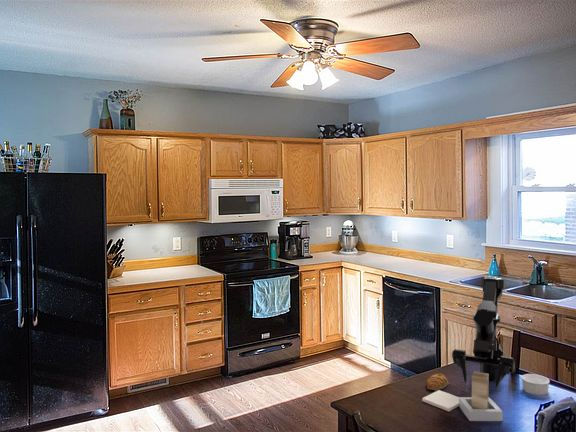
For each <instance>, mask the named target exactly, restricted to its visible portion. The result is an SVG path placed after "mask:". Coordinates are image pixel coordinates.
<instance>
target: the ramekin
mask: <svg viewBox="0 0 576 432" xmlns="http://www.w3.org/2000/svg"><path fill="white" fill-rule="evenodd" d="M520 378H521V383H522V384H521V385H522V389H523V391H525V392H527V393H529V394H530V395H532V394H533V395H537V396H539V395H540V396H544V395H546V394H548V393H549V386H550V379H549V378H548V377H546V376H543V375H540V374H534V373H526V374H523V375H521V376H520Z"/></svg>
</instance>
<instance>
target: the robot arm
mask: <svg viewBox="0 0 576 432" xmlns="http://www.w3.org/2000/svg"><path fill="white" fill-rule="evenodd" d="M505 287H506V283H505V280H503V278H502V277H493V276H484V278H483V277H482V278H480V288H481V289H482V292H483V295H482V301H481V303H479V304H478V305H477V309H476V310H475V311H474V314H473V317H472V318H473V322H474V327H475V331H476V332H475V339H473V349H472V353H473V354H472V355H471V354H467V352H466V350H464V349H456V348H455V349H453V350H452V354H451V357H452V362H453V363H454V364H455V365H456V366H457V367H458V368H460V370H461V372H462V377H463V381H464V384H467V379H468V377H467V375H468V373H467V367H468V366H467V362H471V363H472V362H473V363H477V364H478V363H479V365H480V371H479V372H481V373H487V374H489V382H493V381H495V389H498V387H499V385H500V384H501V382H502V381H503V380H504V377H506V375H510V373H511V374H513V373H515V359H514V358H513V357H511V356H505V355H504V352H503V349H502V348H501V345H500V341H499V339H498V338H497V327H498V326H497V325H498V324H499V323H500V322H501V319H502V318H501V315H500V313H499V312H498V306H499V303H498V302H499V300H500V298H502V296H503V292H504V291H505Z"/></svg>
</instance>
